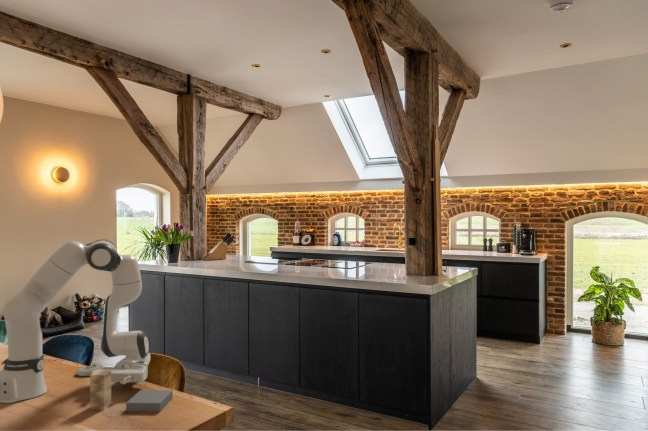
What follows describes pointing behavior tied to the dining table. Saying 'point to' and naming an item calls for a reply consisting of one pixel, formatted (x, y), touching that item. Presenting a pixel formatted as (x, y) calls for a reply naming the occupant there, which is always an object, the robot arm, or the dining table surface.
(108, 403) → the oak block
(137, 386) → the dining table surface
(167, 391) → the plinth
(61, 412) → the dining table surface
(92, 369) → the fossil
